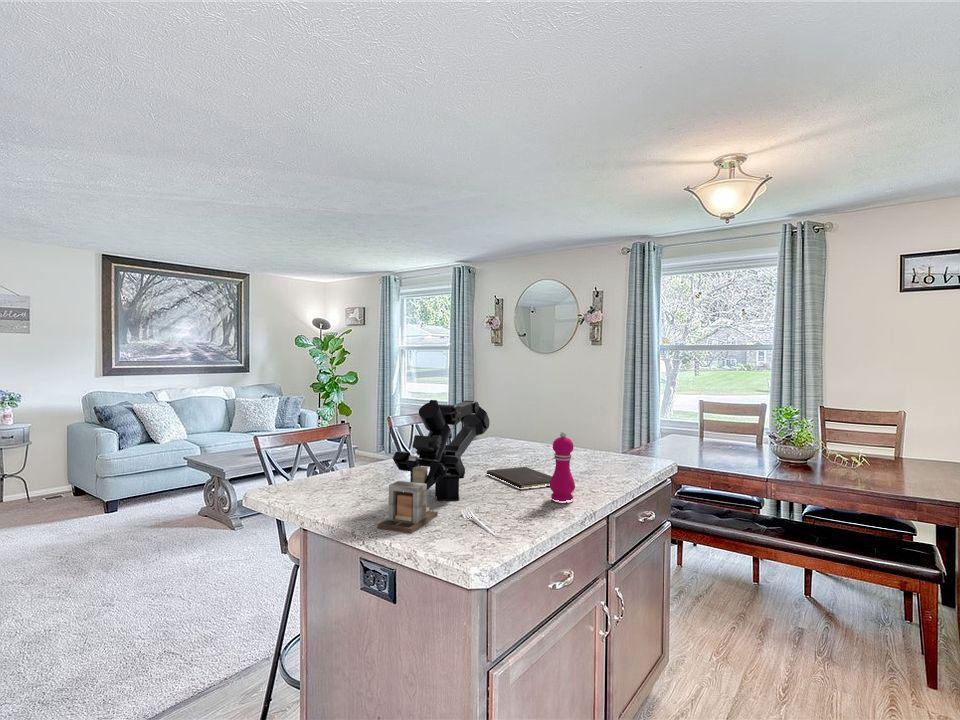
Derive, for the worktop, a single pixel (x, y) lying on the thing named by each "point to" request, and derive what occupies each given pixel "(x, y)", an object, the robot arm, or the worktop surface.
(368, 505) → the worktop surface
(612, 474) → the worktop surface
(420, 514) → the tunnel
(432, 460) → the robot arm
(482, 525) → the fork
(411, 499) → the beige orange stepped block
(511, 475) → the hardcover book
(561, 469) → the pepper mill
